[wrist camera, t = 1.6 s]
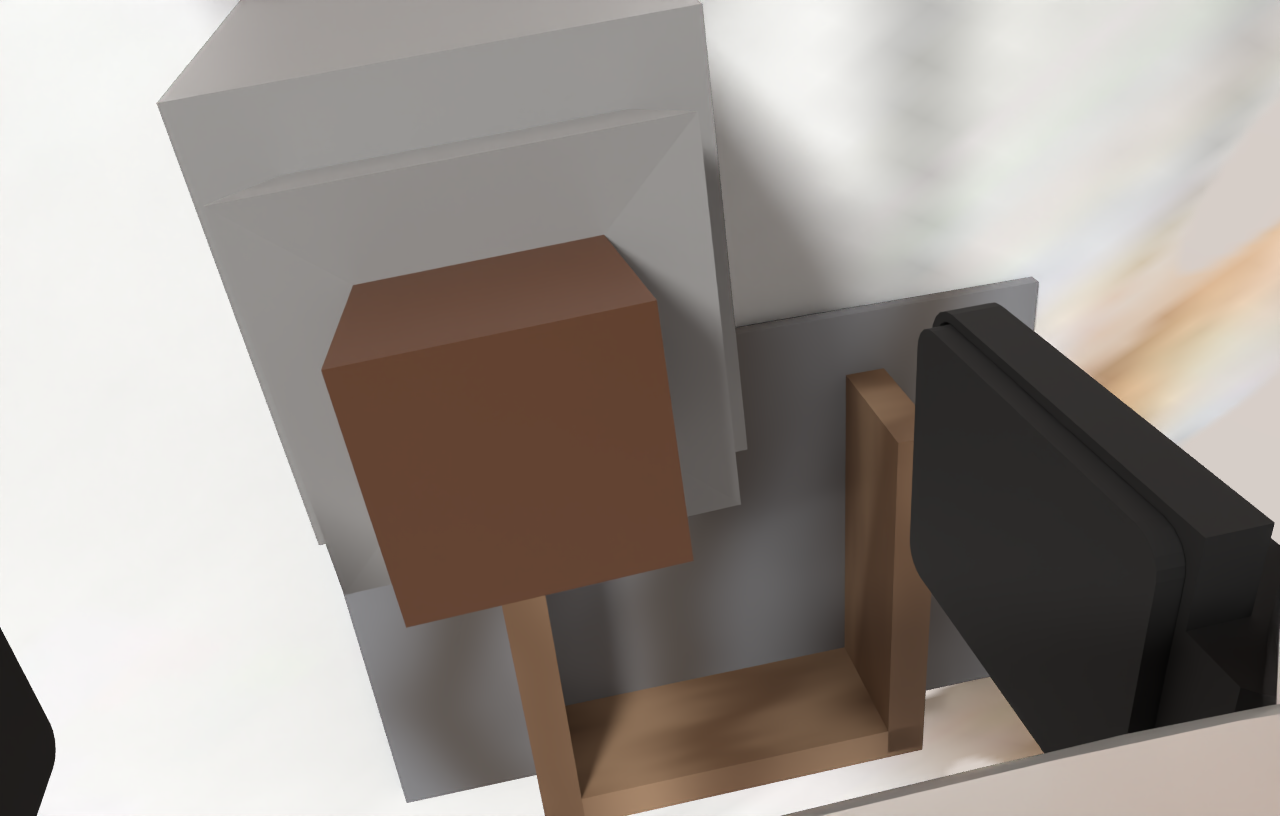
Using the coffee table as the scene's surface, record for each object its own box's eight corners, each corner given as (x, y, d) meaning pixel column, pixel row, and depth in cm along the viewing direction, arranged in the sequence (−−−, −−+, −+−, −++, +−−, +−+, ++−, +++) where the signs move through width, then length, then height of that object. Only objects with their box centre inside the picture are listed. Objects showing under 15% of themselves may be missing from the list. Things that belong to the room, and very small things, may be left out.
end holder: (1031, 276, 32) (1114, 339, 29) (992, 667, 40) (1053, 756, 37) (289, 404, 30) (272, 491, 26) (406, 793, 38) (407, 903, 34)
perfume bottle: (353, 236, 28) (292, 775, 12) (273, -41, 24) (51, 232, 9) (607, 186, 28) (849, 640, 13) (564, -91, 25) (821, 84, 10)
